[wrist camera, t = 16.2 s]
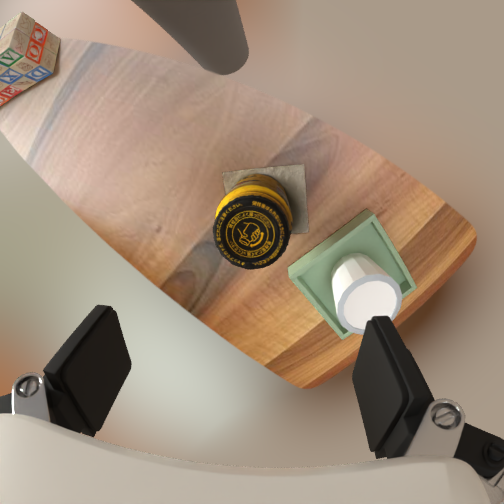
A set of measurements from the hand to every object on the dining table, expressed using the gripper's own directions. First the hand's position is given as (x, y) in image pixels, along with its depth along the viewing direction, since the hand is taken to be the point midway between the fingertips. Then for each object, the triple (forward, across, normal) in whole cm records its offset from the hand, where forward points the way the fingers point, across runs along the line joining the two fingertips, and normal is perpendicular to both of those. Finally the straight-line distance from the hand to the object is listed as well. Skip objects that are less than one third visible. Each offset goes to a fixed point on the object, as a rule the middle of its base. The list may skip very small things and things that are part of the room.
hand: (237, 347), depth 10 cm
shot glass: (+22, -11, +8) cm, 26 cm away
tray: (+22, -11, +8) cm, 26 cm away
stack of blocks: (+22, +36, -20) cm, 47 cm away
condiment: (+23, -1, 0) cm, 23 cm away
